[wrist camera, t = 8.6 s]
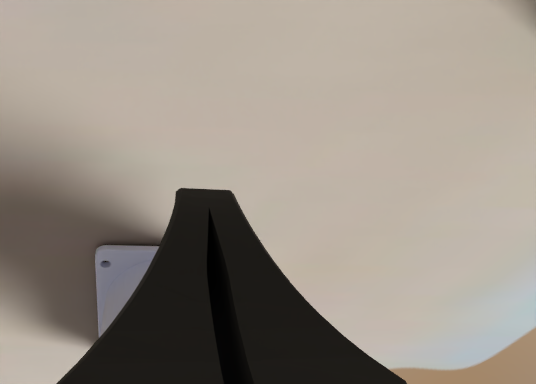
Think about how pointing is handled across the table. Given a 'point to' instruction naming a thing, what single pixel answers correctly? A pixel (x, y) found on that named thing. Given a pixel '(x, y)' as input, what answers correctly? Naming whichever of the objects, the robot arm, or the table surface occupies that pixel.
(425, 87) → the table surface
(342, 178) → the table surface
